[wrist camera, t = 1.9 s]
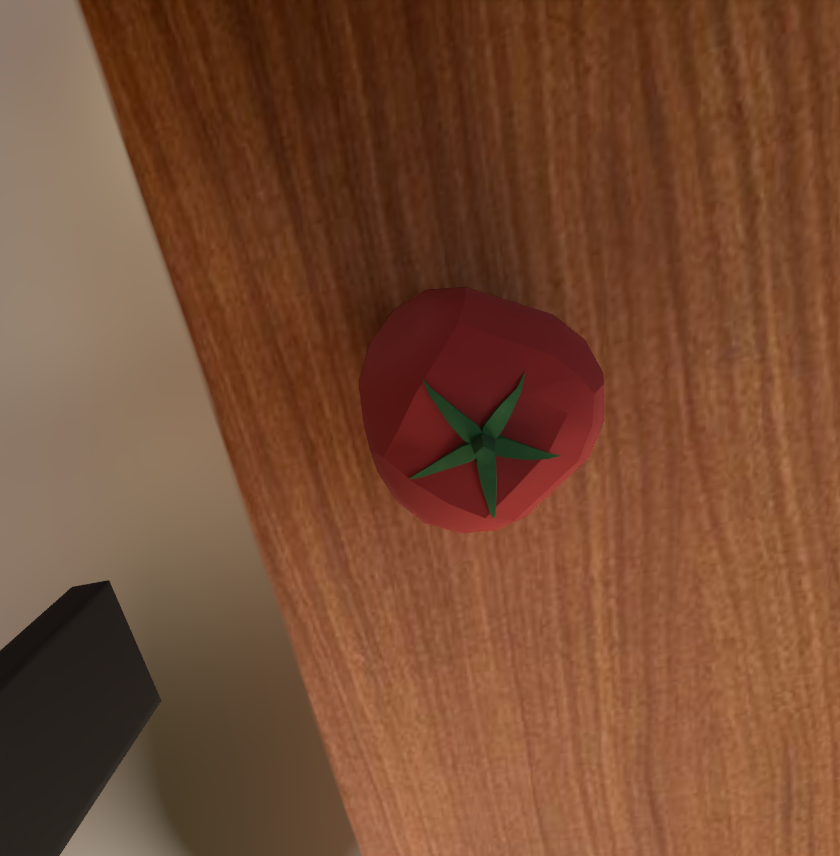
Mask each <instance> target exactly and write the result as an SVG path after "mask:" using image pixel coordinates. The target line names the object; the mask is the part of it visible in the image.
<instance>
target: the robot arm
mask: <svg viewBox="0 0 840 856" xmlns="http://www.w3.org/2000/svg"><path fill="white" fill-rule="evenodd" d="M160 702H161V699H160V697H159V695H158V692H157V690H156V687H155V685H154V683H153V681H152V678H151V676H150V674H149V671H148V669H147V667H146V664H145V662H144V660H143V657H142V655H141V653H140V651H139V648H138V646H137V644H136V641H135V639H134V637H133V634H132V632H131V630H130V627H129V625H128V623H127V621H126V618H125V616H124V614H123V611H122V609H121V607H120V604H119V602H118V600H117V598H116V595H115V593H114V591H113V588H112V586H111V584H110V581H102V582H97V583H91V584H86V585H81V586H75V587H72V588H70V589H69V590H68V591H67V592H66V593H65V594H64V595H63V596H61V597H60V598H59V599H58V600H57V601H56V602H55V603H53V605H51V606H50V607H49V608H48V609H47V610H46V611H44V612H43V613H42V614H41V615H40V616H39V617H38V618H37V619H35V620H34V621H33V622H32V623H31V624H30V625H29V626H27V627H26V628H25V629H24V630H23V631H22V632H21V633H20V634H19V635H17V636H16V637H15V638H14V639H13V640H12V641H11V642H10V643H9V644H7V645H6V646H5V647H4V648H3V649H2V650H1V651H0V856H59V855H60V854H61V852H62V851H63V849H64V848H65V846H66V845H67V843H68V842H69V840H70V838H71V837H72V836H73V834H74V833H75V831H76V829H77V828H78V827H79V825H80V824H81V822H82V821H83V819H84V817H85V816H86V814H87V813H88V811H89V810H90V808H91V807H92V805H93V804H94V802H95V800H96V799H97V797H98V796H99V795H100V793H101V792H102V790H103V789H104V787H105V785H106V784H107V782H108V781H109V779H110V778H111V776H112V775H113V773H114V772H115V770H116V769H117V767H118V765H119V764H120V763H121V761H122V760H123V758H124V757H125V755H126V754H127V752H128V750H129V749H130V747H131V746H132V744H133V743H134V741H135V740H136V738H137V737H138V735H139V734H140V732H141V731H142V729H143V728H144V726H145V725H146V723H147V722H148V720H149V719H150V717H151V715H152V714H153V712H154V711H155V709H156V708H157V706H158V705H159V703H160Z"/></svg>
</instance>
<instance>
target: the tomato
mask: <svg viewBox="0 0 840 856" xmlns="http://www.w3.org/2000/svg"><path fill="white" fill-rule="evenodd" d="M359 390H360V398H361V406H362V414H363V422H364V427H365V431H366V435H367V440H368V444H369V448H370V451H371V454H372V457H373V460H374V463H375V465H376V468H377V471H378V473H379V475H380V476H381V478H382V479H383V481H384V483H385V484H386V486H387V487H388V489H389V490H390V492H391V494H392V495H393V497H394V498H395V500H396V501H397V502H398V503H399V504H401V505H402V506H403V507H405V508H406V509H407V510H409V511H410V512H411V513H413V514H414V515H415V516H416V517H418V518H419V519H420V520H422V521H423V522H424V523H426V524H430V525H433V526H437V527H440V528H444V529H448V530H451V531H455V532H459V533H470V532H481V531H495V530H497V529H500V528H502V527H504V526H506V525H508V524H510V523H513V522H515V521H517V520H519V519H521V518H523V517H525V516H527V515H528V514H529V513H530V512H531V511H532V510H533V509H535V508H536V507H537V506H538V505H539V504H540V503H541V502H542V501H543V500H544V499H545V498H546V497H547V496H548V495H549V494H550V493H552V492H553V491H554V490H555V489H556V488H557V487H558V486H559V485H560V484H561V483H562V482H563V481H564V480H565V479H566V478H568V477H569V476H570V475H571V474H572V473H573V472H574V471H575V470H576V469H577V468H578V467H579V466H580V465H581V464H582V463H583V462H585V461H586V460H587V459H588V458H589V457H590V454H591V452H592V449H593V447H594V444H595V442H596V439H597V437H598V434H599V432H600V429H601V427H602V425H603V422H604V379H603V372H602V370H601V368H600V366H599V365H598V363H597V361H596V359H595V357H594V355H593V354H592V352H591V350H590V348H589V346H588V344H587V343H586V341H585V339H583V338H582V337H581V336H580V335H578V334H577V333H576V332H575V331H573V330H572V329H571V328H569V327H568V326H567V325H566V324H564V323H563V322H562V321H561V320H559V319H558V318H557V317H555V316H554V315H553V314H549V313H546V312H543V311H540V310H537V309H534V308H530V307H527V306H524V305H521V304H518V303H515V302H512V301H508V300H505V299H502V298H499V297H496V296H493V295H490V294H486V293H483V292H480V291H477V290H474V289H471V288H467V287H459V288H444V289H429V290H425V291H423V292H422V293H420V294H419V295H417V296H416V297H414V298H412V299H411V300H409V301H408V302H406V303H404V304H403V305H401V306H400V307H398V308H397V309H395V310H393V312H392V313H391V314H390V316H389V317H388V318H387V320H386V321H385V323H384V324H383V325H382V327H381V328H380V330H379V331H378V332H377V334H376V335H375V337H374V338H373V339H372V341H371V342H370V345H369V348H368V352H367V355H366V359H365V362H364V365H363V369H362V372H361V376H360V379H359Z"/></svg>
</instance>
